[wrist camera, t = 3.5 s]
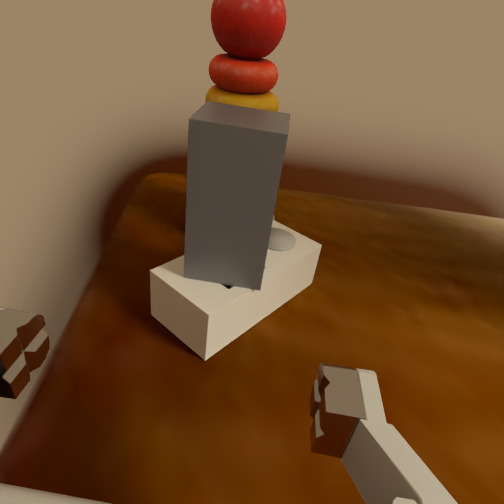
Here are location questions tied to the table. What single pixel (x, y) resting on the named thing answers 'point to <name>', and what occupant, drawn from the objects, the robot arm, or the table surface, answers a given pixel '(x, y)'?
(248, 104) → the stacking toy
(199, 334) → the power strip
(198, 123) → the gray rectangular block
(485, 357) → the table surface
